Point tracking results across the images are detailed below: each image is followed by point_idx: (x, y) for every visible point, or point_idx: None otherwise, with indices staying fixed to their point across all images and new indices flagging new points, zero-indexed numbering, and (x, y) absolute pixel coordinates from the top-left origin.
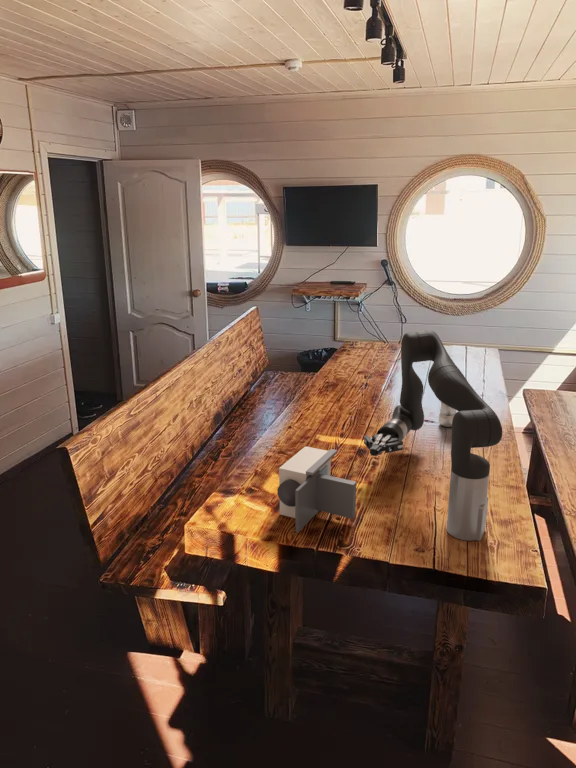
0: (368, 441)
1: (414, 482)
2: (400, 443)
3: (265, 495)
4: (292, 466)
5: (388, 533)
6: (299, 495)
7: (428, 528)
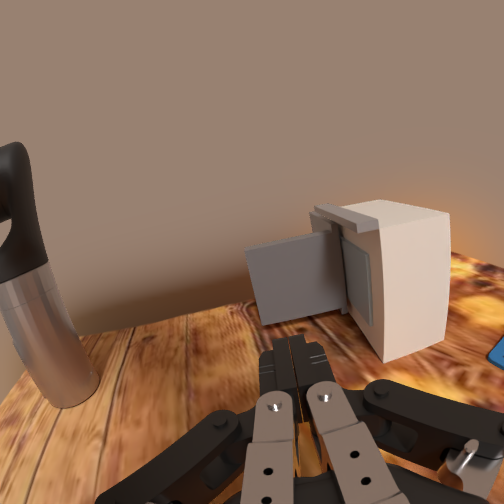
0: (400, 384)
1: None
2: (118, 486)
3: (457, 292)
4: (369, 204)
5: (196, 344)
6: (312, 223)
7: (128, 378)
